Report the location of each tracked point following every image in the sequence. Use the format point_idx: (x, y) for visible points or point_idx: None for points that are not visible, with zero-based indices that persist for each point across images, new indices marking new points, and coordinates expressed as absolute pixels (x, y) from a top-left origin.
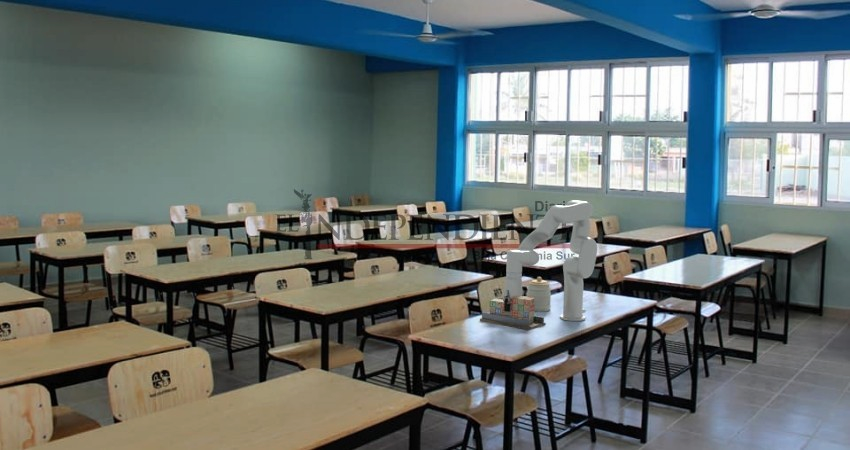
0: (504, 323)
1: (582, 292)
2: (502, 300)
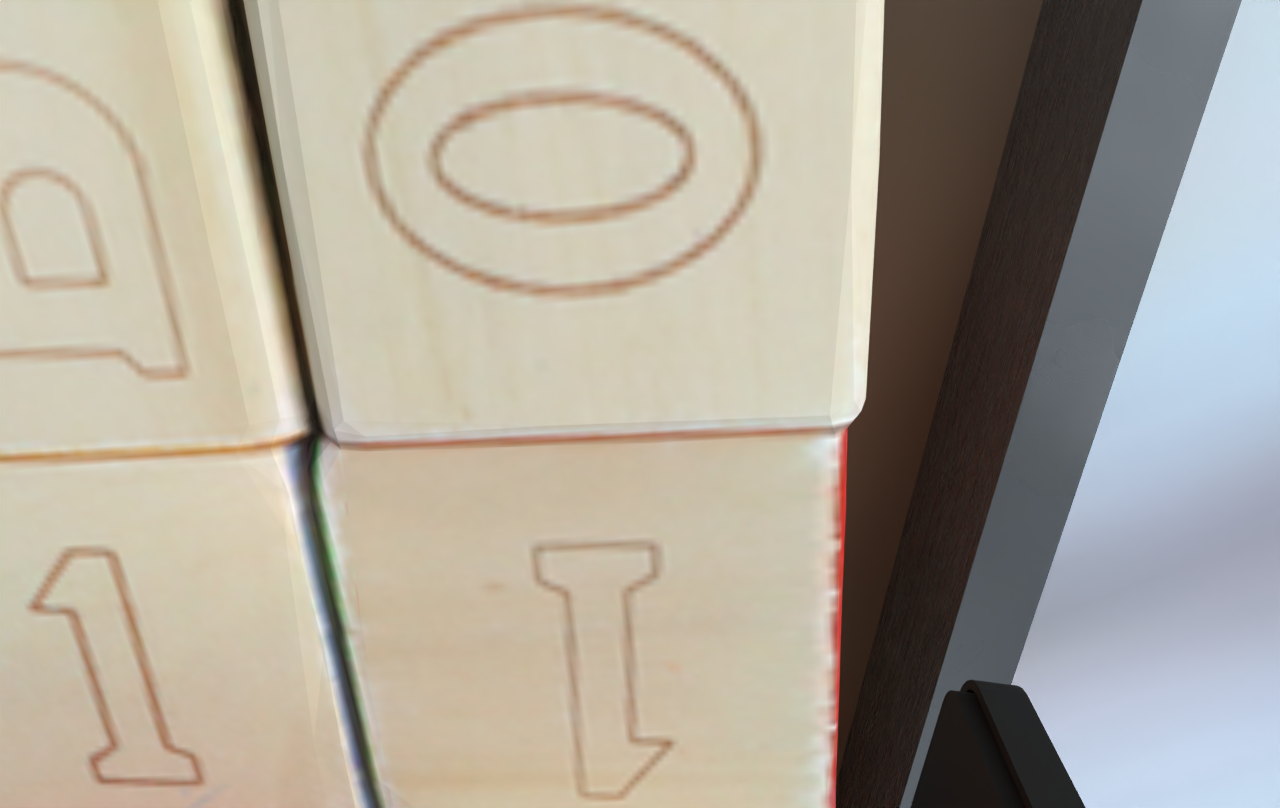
0: None
1: None
2: (405, 280)
